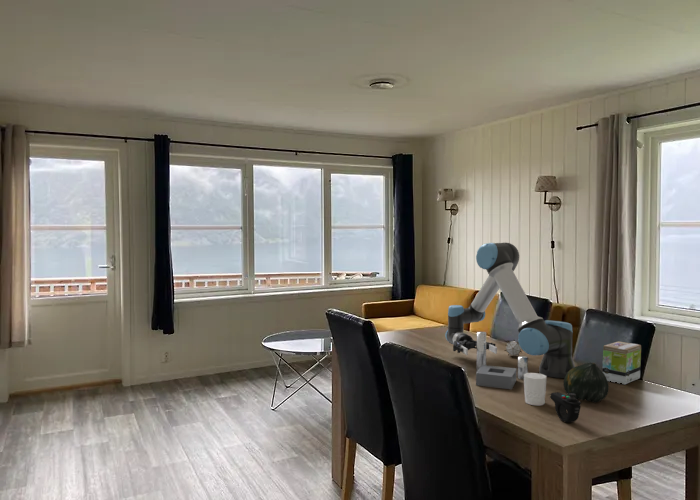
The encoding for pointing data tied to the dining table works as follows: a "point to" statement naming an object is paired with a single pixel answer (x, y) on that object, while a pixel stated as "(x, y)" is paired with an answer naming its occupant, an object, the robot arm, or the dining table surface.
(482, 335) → the long steel pin
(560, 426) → the dining table surface
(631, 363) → the tea box
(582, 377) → the squash
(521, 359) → the short steel pin
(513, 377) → the charcoal collar block
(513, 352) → the game die
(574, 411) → the controller
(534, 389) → the white cup
